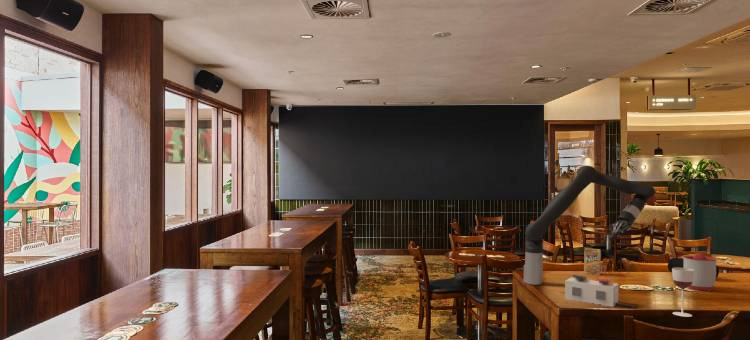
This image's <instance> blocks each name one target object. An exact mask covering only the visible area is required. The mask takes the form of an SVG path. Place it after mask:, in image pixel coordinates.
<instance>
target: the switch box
mask: <svg viewBox="0 0 750 340" xmlns="http://www.w3.org/2000/svg"><path fill="white" fill-rule="evenodd" d="M564 300H568V301H574V300H575V301H574V302H580V301H581V302H582V303H586V302H587V303H588V304H592V303H594V305H599V304H601V305H600V306H604V307H605V306H606V307H615V306H620V307H621V306H623V307H628V308H633V309H635V305H634V304H629V303H620V302H619V283H615V282H608V284H603V283H599V281H598V280H594V279H593V280H592V279H587V280H586V279H584V281H582V280H575V277H573V276H572V277H569V278H568V279H565V280H564ZM587 303H586V304H587Z"/></svg>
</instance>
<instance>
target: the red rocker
mask: <svg viewBox="0 0 750 340" xmlns="http://www.w3.org/2000/svg"><path fill="white" fill-rule="evenodd" d="M596 281H599V283H603V284H608V283H611V280H610V279H606V278H601V277H597V278H596Z"/></svg>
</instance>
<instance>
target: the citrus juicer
mask: <svg viewBox="0 0 750 340" xmlns="http://www.w3.org/2000/svg"><path fill="white" fill-rule="evenodd" d="M682 258H683V259H684V267H683V268H689V269H693V270H694V279H693V283H692V285H691V286H690V287H688V288H687V289H690V290H692V291H695V290H696V291H704V292H710V291H712V290H713V288H714V287H715V283H716V280H717V278H716V265H717V260H718V259H717V258H715V257H712V256H711V257H710V256H705V254H703V253H702V252H701V251H700V252H699V251H698V253H696V254H695V255H689V254H688V255H683V257H682Z"/></svg>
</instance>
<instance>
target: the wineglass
mask: <svg viewBox="0 0 750 340" xmlns="http://www.w3.org/2000/svg"><path fill="white" fill-rule="evenodd" d="M671 274H672V281H673V283H674V286H676V287H678V288H679V289H681V312H680V311H673V312H672V314H673V315H675V316H679V317H685V318H687V317H688V318H689V317H693V315H692V314H691V313H687V312H684V303H685V302H684V301H685V300H684V297H685V295H684V294H685V293H684V292H685V291H684V290H685V289H689V288H688V287H690V286H691V285H692V283H693V279H694V270H693V269H689V268H679V267H676V268H672V272H671Z"/></svg>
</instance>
